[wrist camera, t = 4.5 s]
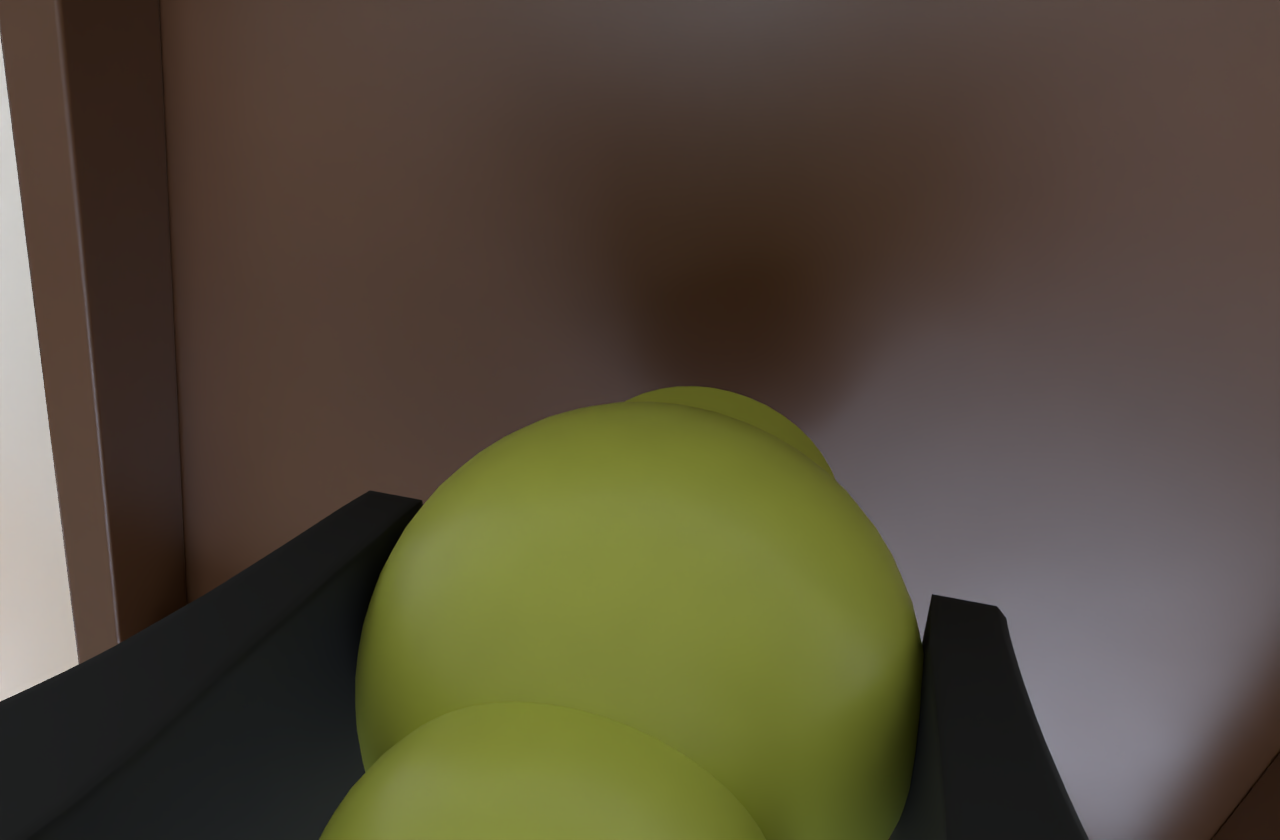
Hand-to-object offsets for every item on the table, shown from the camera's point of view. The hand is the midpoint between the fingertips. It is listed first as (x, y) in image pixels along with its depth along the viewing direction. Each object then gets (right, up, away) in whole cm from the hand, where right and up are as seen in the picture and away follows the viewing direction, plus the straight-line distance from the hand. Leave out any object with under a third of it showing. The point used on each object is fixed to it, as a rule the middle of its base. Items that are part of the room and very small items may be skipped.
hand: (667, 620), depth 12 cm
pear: (0, +1, +2) cm, 2 cm away
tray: (+1, +2, +3) cm, 4 cm away
